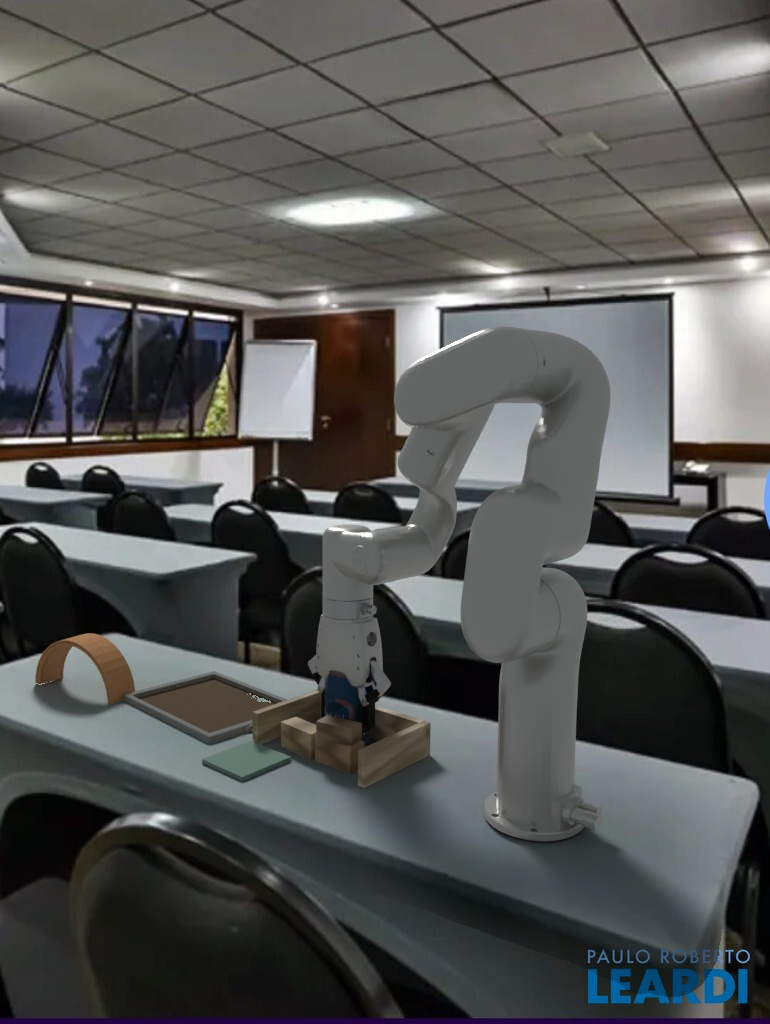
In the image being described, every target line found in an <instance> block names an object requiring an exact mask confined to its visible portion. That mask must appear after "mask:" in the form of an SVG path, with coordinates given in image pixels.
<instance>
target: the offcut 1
mask: <svg viewBox="0 0 770 1024" xmlns="http://www.w3.org/2000/svg"><path fill="white" fill-rule="evenodd" d="M315 735H316V723H315V724H313V723H310V722H308V721H306V720H303V719H301V718H298V717H294V718H291V719H288V720H285V721H281V737H280V747H281V748H284V749H287V750H289V751H291V752H293V753H295V754H298V755H299V756H302V757H304V758H307V759H308V760H310V761H311V760H315Z"/></svg>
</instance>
